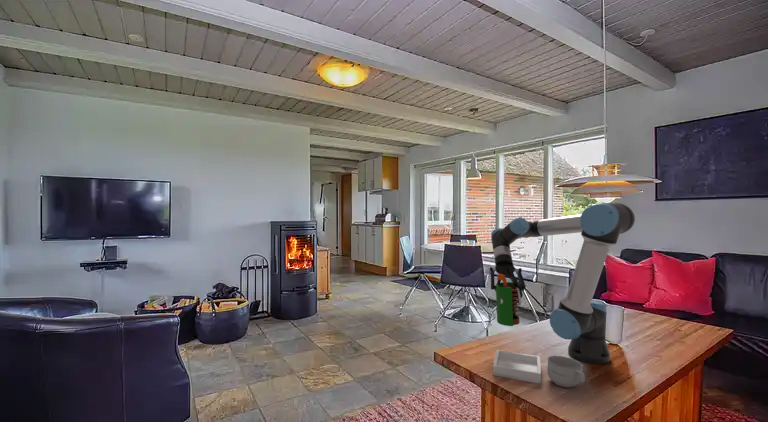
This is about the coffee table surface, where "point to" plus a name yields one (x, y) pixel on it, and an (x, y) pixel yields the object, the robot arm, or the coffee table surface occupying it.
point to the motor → (506, 302)
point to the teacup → (565, 371)
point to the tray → (517, 366)
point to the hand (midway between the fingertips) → (510, 303)
